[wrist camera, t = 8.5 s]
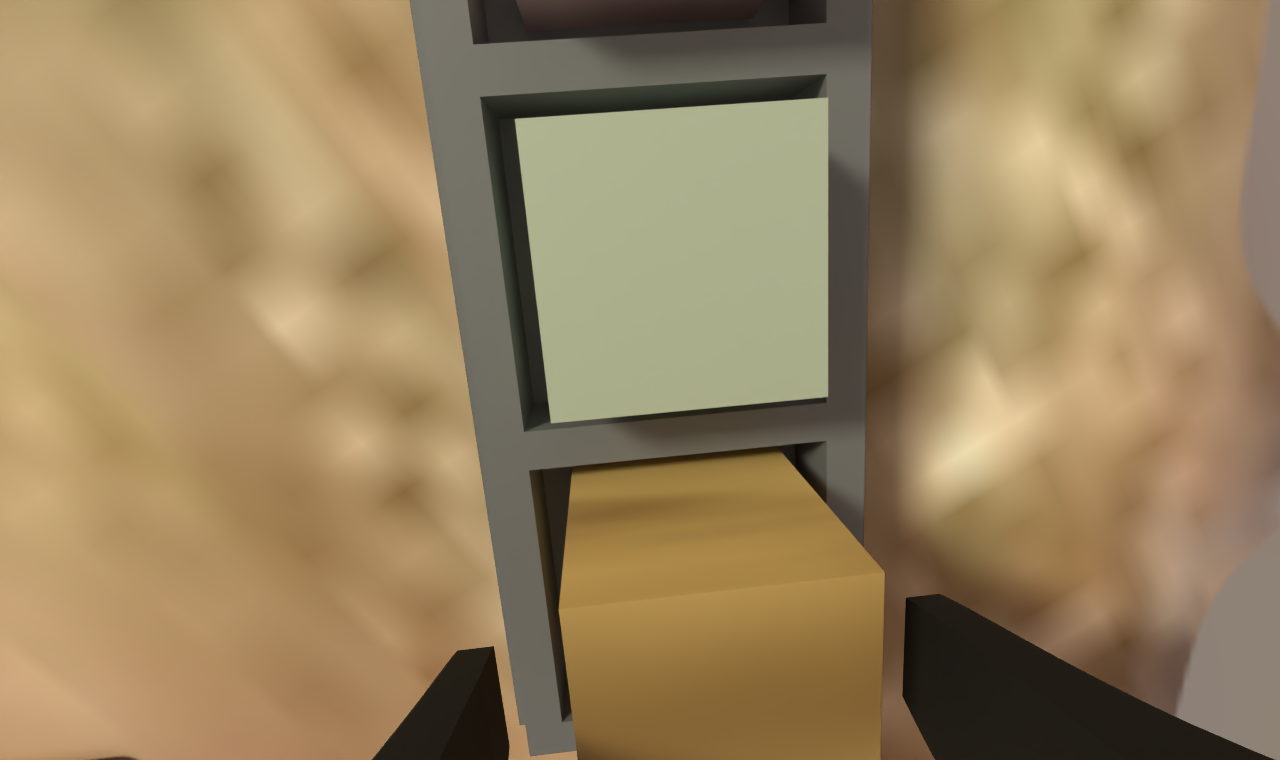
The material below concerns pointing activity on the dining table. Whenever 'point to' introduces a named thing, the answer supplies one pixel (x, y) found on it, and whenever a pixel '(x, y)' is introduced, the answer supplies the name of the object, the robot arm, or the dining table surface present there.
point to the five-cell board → (507, 292)
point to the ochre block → (717, 614)
